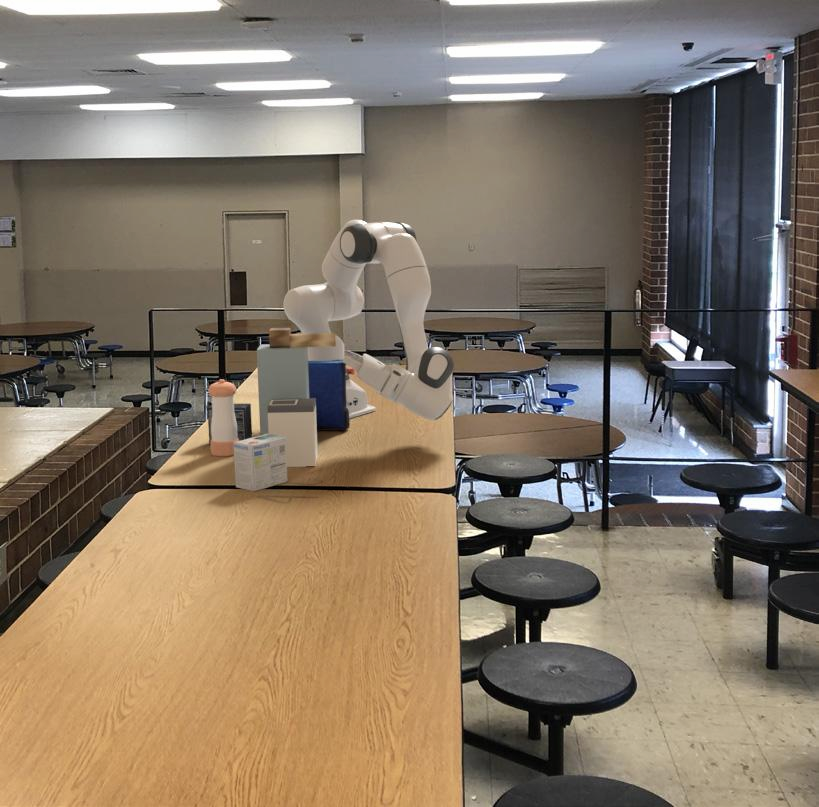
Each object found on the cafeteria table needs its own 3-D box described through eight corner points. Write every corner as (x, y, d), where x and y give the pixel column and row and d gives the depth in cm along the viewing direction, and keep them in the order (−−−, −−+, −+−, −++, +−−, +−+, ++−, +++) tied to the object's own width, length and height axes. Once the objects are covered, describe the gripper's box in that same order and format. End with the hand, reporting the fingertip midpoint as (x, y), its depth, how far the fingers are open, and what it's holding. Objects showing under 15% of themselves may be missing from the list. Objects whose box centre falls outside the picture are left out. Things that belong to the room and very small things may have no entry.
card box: (317, 456, 281) (315, 397, 278) (315, 466, 271) (313, 405, 268) (273, 457, 280) (271, 398, 278) (269, 467, 271) (267, 406, 268)
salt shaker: (205, 454, 285) (201, 380, 282) (222, 448, 291) (219, 376, 288) (228, 457, 282) (224, 382, 278) (245, 451, 288) (242, 378, 285)
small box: (253, 440, 300) (251, 402, 298) (247, 446, 294) (245, 407, 292) (215, 440, 301) (213, 402, 300) (208, 446, 295) (206, 407, 293)
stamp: (269, 348, 281) (269, 330, 280) (271, 345, 286) (270, 328, 285) (335, 347, 281) (334, 329, 280) (336, 344, 286) (335, 326, 285)
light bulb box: (268, 477, 261) (266, 432, 259) (288, 482, 257) (287, 436, 255) (234, 487, 253) (231, 441, 251) (254, 492, 249) (252, 445, 247)
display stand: (312, 445, 294) (308, 343, 289) (309, 454, 283) (306, 349, 278) (264, 446, 293) (259, 344, 288) (259, 455, 283) (255, 350, 278)
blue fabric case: (350, 428, 314) (349, 357, 310) (348, 432, 309) (346, 360, 305) (300, 428, 315) (298, 358, 312) (296, 432, 310) (294, 360, 307)
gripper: (397, 364, 296) (351, 339, 294) (398, 377, 275) (349, 350, 274) (385, 384, 297) (339, 359, 295) (385, 399, 276) (336, 372, 275)
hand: (344, 355), depth 284 cm, fingers open, 8 cm apart
